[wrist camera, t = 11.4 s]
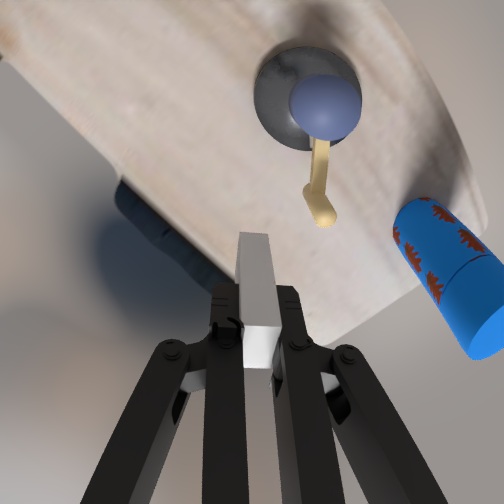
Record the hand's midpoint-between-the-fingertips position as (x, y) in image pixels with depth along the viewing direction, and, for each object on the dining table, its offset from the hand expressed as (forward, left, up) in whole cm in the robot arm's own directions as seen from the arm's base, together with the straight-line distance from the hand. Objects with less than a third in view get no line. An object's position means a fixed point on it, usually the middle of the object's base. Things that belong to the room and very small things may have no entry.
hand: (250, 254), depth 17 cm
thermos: (+16, +28, -27) cm, 42 cm away
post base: (-5, +9, -27) cm, 29 cm away
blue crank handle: (-1, +8, -21) cm, 23 cm away
